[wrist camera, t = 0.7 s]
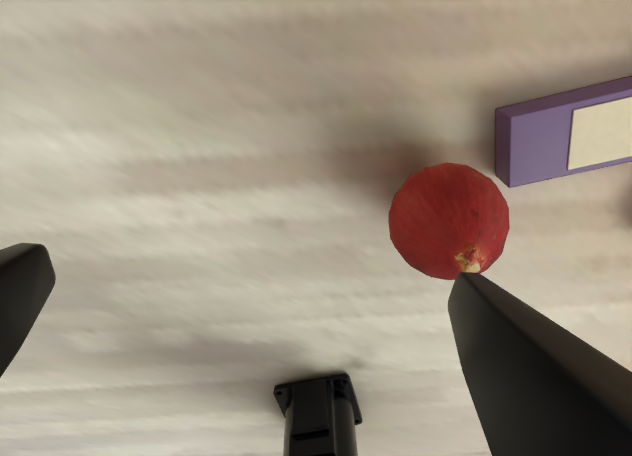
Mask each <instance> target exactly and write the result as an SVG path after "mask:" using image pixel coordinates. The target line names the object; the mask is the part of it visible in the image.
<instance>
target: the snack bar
mask: <svg viewBox="0 0 632 456" xmlns="http://www.w3.org/2000/svg"><path fill="white" fill-rule="evenodd" d="M631 161H632V76H630V77H626V78H622V79H617V80H613V81H609V82H605V83H601V84H597V85H593V86H588V87H584V88H580V89H576V90H572V91H568V92H563V93H559V94H555V95H551V96H547V97H543V98H539V99H534V100H530V101H526V102H522V103H518V104H514V105H509V106H505V107H501V108H497V109H496V176H497V177H498V178H499V179H500V180H501V181H502V182H503V183H504V184H505V185H507V186H508V187H509V188H511V187H516V186H520V185H525V184H529V183H534V182H539V181H543V180H548V179H552V178H557V177H562V176H566V175H571V174H575V173H580V172H585V171H589V170H594V169H598V168H603V167H608V166H612V165H617V164H621V163H626V162H631Z"/></svg>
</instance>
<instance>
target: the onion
mask: <svg viewBox="0 0 632 456" xmlns="http://www.w3.org/2000/svg"><path fill="white" fill-rule="evenodd" d="M389 229H390V238H391V240H392V242H393V244H394V246H395V248H396V249H397V250H398V252H399V253H400V254H401V256H402V257H403V258H404V260H405V261H406V262H407V263H408V264H409V265H410V266H412V267H413V268H415V269H417V270H419V271H420V272H422V273H424V274H426V275H428V276H430V277H434V278H440V279H445V280H455V279H456V277H457V275H458V274H459V273H460V272H474V273H479V274H480V273H482V272H484V271H485V270H487V269H488V268H489V267H490V266H491V265H492V264H493V263H494V262H495V261H496V260H497V259H498V257H499V256H500V255H501V254H502V252H503V248H504V244H505V241H506V237H507V234H508V231H509V209H508V206H507V203H506V201H505V199H504V197H503V196H502V194H501V192H500V191H499V189H498V187H497V186H496V184H495V183H494V182H493V181H492V180H491V179H490V178H488V177H486V176H485V175H483V174H481V173H480V172H478V171H476V170H475V169H473V168H471V167H469V166H467V165H460V164H453V163H444V164H439V165H435V166H430V167H426V168H424V169H422V170H420V171H419V172H417V173H415V174H414V175H412V176H410V177H409V178H408V179H407V180H406V182H405V183H404V184H403V186H402V187H401V188H400V189H399V191H398V192H397V193H396V194H395V196H394V198H393V201H392V204H391V207H390V210H389Z"/></svg>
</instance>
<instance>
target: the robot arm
mask: <svg viewBox="0 0 632 456" xmlns="http://www.w3.org/2000/svg"><path fill="white" fill-rule="evenodd" d="M55 280H56V278H55V272H54V269H53V266H52V263H51V260H50V257H49V254H48V251H47V249H46V247H45V246H44V245H42V244H33V243H19V244H16V245H13V246H10V247H7V248H4V249H2V250H0V377H1V376H2V374H3V373H4V372H5V370H6V369H7V367H8V366H9V364H10V363H11V361H12V360H13V358H14V357H15V355H16V354H17V352H18V351H19V349H20V347H21V346H22V344H23V342H24V341H25V339H26V337H27V335H28V333H29V332H30V330H31V328H32V326H33V324H34V322H35V321H36V319H37V317H38V315H39V313H40V311H41V309H42V308H43V306H44V304H45V302H46V300H47V298H48V297H49V295H50V293H51V291H52V289H53V287H54V285H55ZM448 311H449V316H450V320H451V324H452V329H453V333H454V337H455V342H456V346H457V350H458V355H459V359H460V363H461V367H462V371H463V374H464V377H465V380H466V383H467V386H468V388H469V391H470V394H471V397H472V400H473V403H474V405H475V408H476V411H477V414H478V417H479V420H480V423H481V425H482V428H483V431H484V434H485V437H486V440H487V442H488V445H489V448H490V451H491V454H492V456H632V372H631V371H629V370H628V369H626V368H624V367H623V366H621V365H620V364H618V363H617V362H615V361H614V360H612V359H611V358H609V357H607V356H606V355H604V354H603V353H601V352H600V351H598V350H597V349H595V348H594V347H592V346H590V345H589V344H587V343H586V342H584V341H583V340H581V339H580V338H578V337H577V336H575V335H573V334H572V333H570V332H569V331H567V330H566V329H564V328H563V327H561V326H560V325H558V324H556V323H555V322H553V321H552V320H550V319H549V318H547V317H546V316H544V315H543V314H541V313H539V312H538V311H536V310H535V309H533V308H532V307H530V306H529V305H527V304H526V303H524V302H522V301H521V300H519V299H518V298H516V297H515V296H513V295H512V294H510V293H509V292H507V291H505V290H504V289H502V288H501V287H499V286H498V285H496V284H495V283H493V282H492V281H490V280H489V279H487V278H485V277H484V276H482V275H481V274H479V273H474V272H460V273H459V274H458V275H457V277H456V279H455V282H454V285H453V288H452V291H451V294H450V297H449V300H448ZM273 393H274V396H275V398H276V400H277V402H278V404H279V406H280V408H281V411H282V413H283V415H284V417H285V434H284V450H283V456H358V453H357V443H356V434H355V425H358V424H361V423H362V415H361V412H360V409H359V405H358V402H357V399H356V396H355V392H354V389H353V386H352V382H351V379H350V376H349V375H347V374H340V375H334V376H329V377H323V378H317V379H311V380H305V381H300V382H294V383H288V384H282V385H277V386H275V387H274V392H273Z"/></svg>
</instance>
